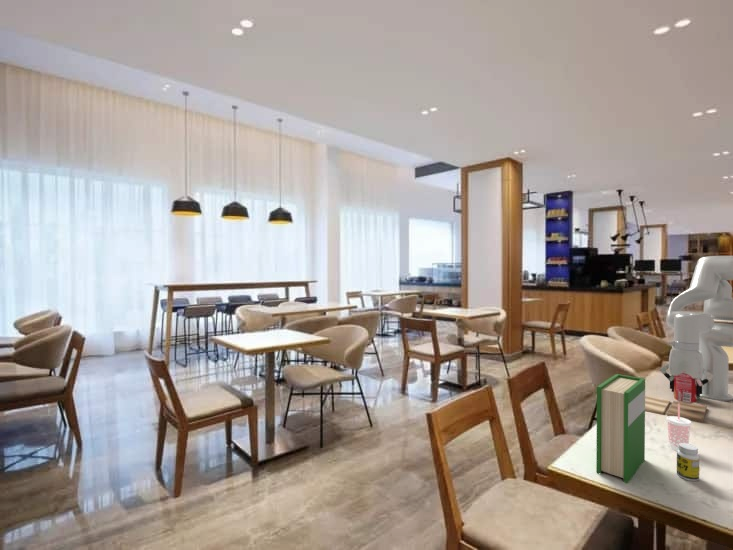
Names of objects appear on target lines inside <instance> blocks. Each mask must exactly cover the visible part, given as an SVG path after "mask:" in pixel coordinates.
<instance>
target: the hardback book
mask: <svg viewBox="0 0 733 550" xmlns="http://www.w3.org/2000/svg"><path fill="white" fill-rule="evenodd" d="M645 396H646V378H642V377H638V376H637V377H636V376H631V375H624V374H619V373H615V374H614V375H612V376H611V377H609V378H608V379H606V380H604V381H603V382H602V383H600V384H599V385H598V386H596V470H595V471H596V472H597V474H599V473H601V474H602V472H604V473H607V474H609V475H612V476H615V477H619V478H622V479H623V482H624V483H625V482H626V484H629V482H630V481H631V480H632V478H633V477H634V475H635V474H636V473H637V471H638V470H639V469H640V467H641V465H642V464H643V463H644V462H645V455H646V452H645V450H646V449H645V447H646V445H645V444H646V443H645V441H646V440H645V439H646V411H645Z"/></svg>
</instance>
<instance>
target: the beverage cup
mask: <svg viewBox="0 0 733 550" xmlns="http://www.w3.org/2000/svg"><path fill="white" fill-rule="evenodd" d="M666 422H667V434H668V447H669V448H670V449H671V450H673V451H678V450H679V444H680V443H687V444H690V443H689V442H690V432H691V426H692V422H693V421H691V420H688V419H685V418H682V417H680V404H678V417H677V416H667V415H666Z"/></svg>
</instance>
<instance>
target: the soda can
mask: <svg viewBox="0 0 733 550" xmlns="http://www.w3.org/2000/svg"><path fill="white" fill-rule="evenodd" d="M683 372H685V371H683ZM697 385H698V383H697V381H696V379H693V378H692V377H691V376H690V375H688V374H686V373H681V374H679V375H678V376H674V392H672V393H673V398H674V399H675V401H678V402H682V403H687V404H696V403H697V402H698V401H697Z"/></svg>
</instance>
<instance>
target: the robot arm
mask: <svg viewBox="0 0 733 550" xmlns="http://www.w3.org/2000/svg"><path fill="white" fill-rule="evenodd" d="M729 281H733V255H709V256H702V257H700V258H699V259H697V263H696V265H695V268H694V270H693V273H692V278H691V281H690V285H689V288H687V289H686V290H684V291H683V292H681V293H680V294H678V295H677V296H676V297H674V299H672V300H671V302H670V304H669V307H668V310H667V313H666V318H665V320H666V321H665V322H666V325H667V326H668V327H669V328H670V329H673V341H669V342H668V346H671V347H672V348H670V352H669V355H668V356H669V358H668V363H667V364H666V365H664V366H662V367H661V368H659V371H660V373H661V374H662V375H663V376H664V377H666V379H667V380H668V381H669V389H670V390H671V393H673V392H674V376H678V375H679V374H681V373H686V374H688V375H690V376H691V377H692V378H693V379H696V381H697V383H698V385H697V396H698V397H699V396H700V398H704V399H707V400H711V401H720V402H730V401H733V395H732V394H731V393H729V360H730V359H729V354H728V353H727V351H725V349H724V348H723V347H727V348H733V324H732V323H725V322H716V321H727V322H733V298H732V293H733V291H732V290H733V287H732V285H731V284H730V283H729ZM701 302H703V312H702V311H701V312H699V311H689V310H687V311H686V310H683V309H684V308H685V307H687V306H689V305H690V306H691V305H692V304H696V303H701ZM715 320H716V321H715ZM667 370H668V372H667ZM683 371H685V372H683Z"/></svg>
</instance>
